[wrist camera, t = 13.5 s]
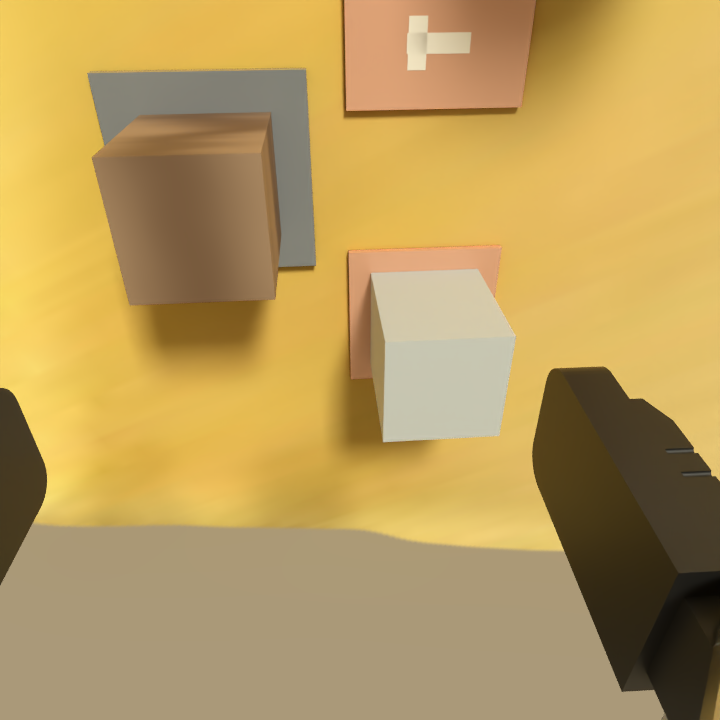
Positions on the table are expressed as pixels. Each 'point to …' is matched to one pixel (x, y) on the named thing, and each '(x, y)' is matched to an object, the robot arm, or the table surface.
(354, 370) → the code tile
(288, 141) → the slate coaster
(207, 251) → the walnut block
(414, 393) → the white block
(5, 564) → the robot arm
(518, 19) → the code tile
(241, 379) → the table surface
